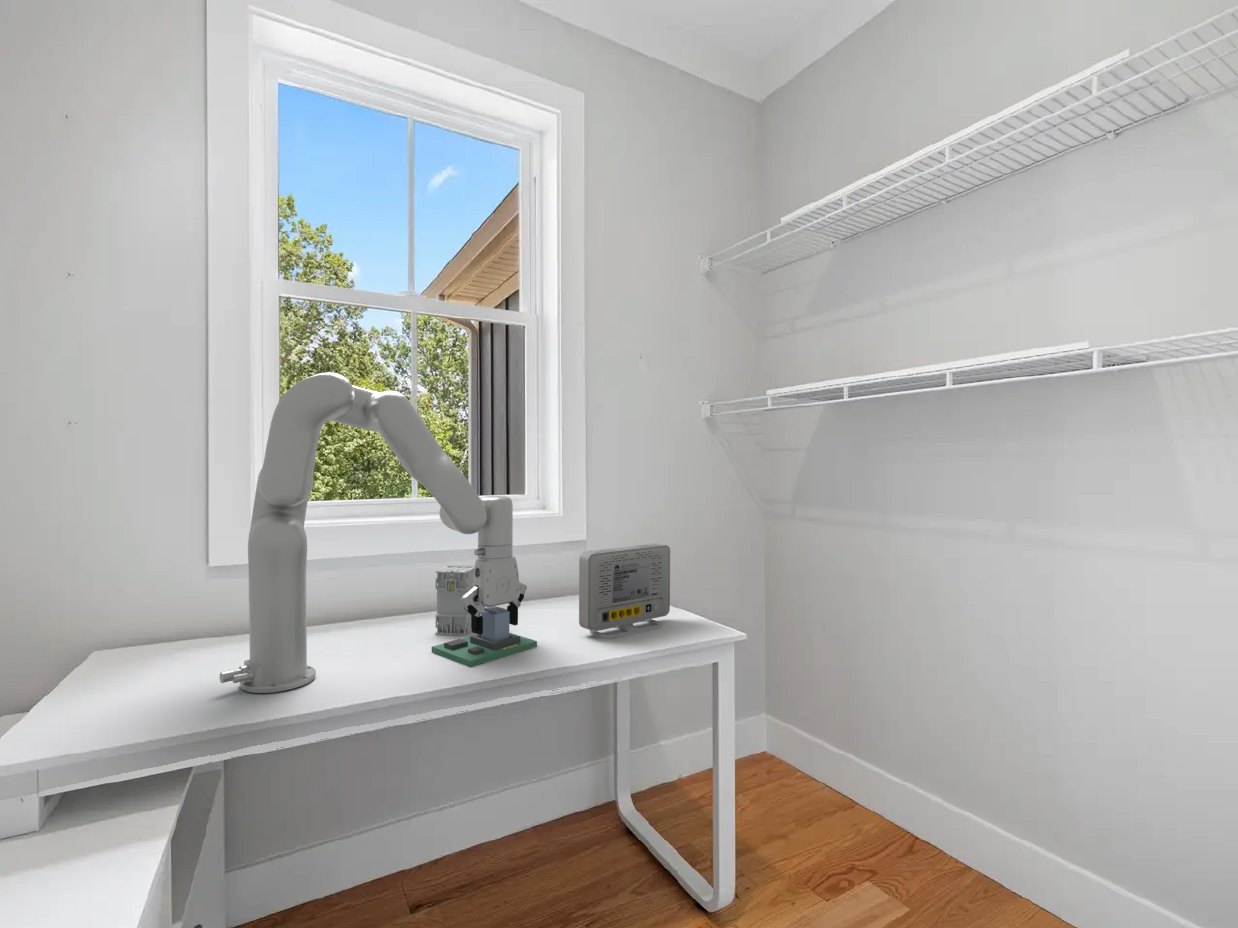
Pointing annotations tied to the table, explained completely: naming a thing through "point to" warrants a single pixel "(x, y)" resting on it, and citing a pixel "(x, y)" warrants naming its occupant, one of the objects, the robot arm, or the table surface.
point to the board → (482, 648)
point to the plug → (495, 623)
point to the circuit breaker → (453, 600)
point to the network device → (624, 588)
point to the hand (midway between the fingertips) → (495, 628)
